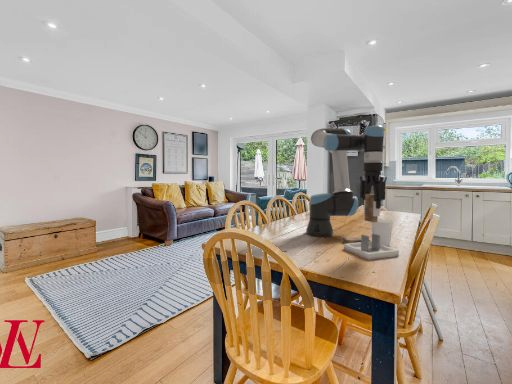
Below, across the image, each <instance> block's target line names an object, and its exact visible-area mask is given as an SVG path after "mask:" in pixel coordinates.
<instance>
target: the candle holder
mask: <svg viewBox="0 0 512 384" xmlns="http://www.w3.org/2000/svg"><path fill="white" fill-rule="evenodd" d="M393 222H394V220H392V219H389V218H378V220H377V222H371V223H370V224H371V235H372V234H377V235H380V244H381V245H384V246H387V247H390V246H391V240H392V234H393V233H392V232H393Z"/></svg>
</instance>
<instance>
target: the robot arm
mask: <svg viewBox="0 0 512 384" xmlns="http://www.w3.org/2000/svg"><path fill="white" fill-rule="evenodd" d="M310 136H311V137H310V140H311V143H312V145H313V146H315V147H318V148H322V149H323V148H324V150H325V151H328V152H329V153H331V157H332V170H333V172H332V173H333V184H334V191H333V192H332V193H329V192H328V193H326V192H325V193H316V194H313V195H311V196H310V197H309V198H310V199H309V220H308V225H307V227H306V234H307V235H308V236H312V237H319V238H320V237H322V238H323V237H331V236H333V235H334V230H333V229H334V228H333V226H332V223H331V222H332V221H331V217H348V216H349V217H351V216H354V215H355V214H357V213H356V212H357V210H358V208H359V199H358V197H357V196H356V195H354V192H353V190H351V185H350V176H349V175H350V173H349V172H350V171H349V163H348V152H349V151H350V152H353V151H354V152H364V153H363V155H364V156H363V161H364V163H363V171H364V175H362V176H360V177H359V180H360V187H359V188H360V189H359V198H360V199H362V200H363V201H362V202H363V204H362V205H363V215H365V194H371V190H372V189H373V194H374V196H375V200H374V207H373V216H378V217H380V213H381V211H380V210H381V208H382V207H381V206H382V205H381V204H382V201H384V200H386V182H387V178H388V177H387V176H384V175H382V171H383V160H384V140H385V139H384V138H385V137H384V136H385V134H384V127H383V126H382V125H370V126H367V127H365V129H364V132H363V134H352V133H351V131H350V130H349V129H348V128H342V127H339V128H326V127H325V128H319V129H317V130H314V132H313V133H312V134H311V135H310Z"/></svg>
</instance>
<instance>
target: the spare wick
mask: <svg viewBox="0 0 512 384" xmlns="http://www.w3.org/2000/svg"><path fill="white" fill-rule="evenodd" d="M369 241H371V240H370V239H369ZM342 242H343V244H348V243H358V242H361V237H342Z"/></svg>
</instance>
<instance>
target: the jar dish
mask: <svg viewBox="0 0 512 384" xmlns="http://www.w3.org/2000/svg"><path fill="white" fill-rule="evenodd" d="M360 236H361V237H360V238H361V242H358V243H348V244H345V243H343V250H344V251H347V252H350V253H352V254H353V255H356V256H358V257H361V258H363V259H365V260H367V261H371V260H379V259H388V258H394V257H399V256H400V255H399V254H400V253H399V252H400V250H398V249H396V248H394V247H393V248H392V247H390V246H384V245H381V244H380V235H377V234H372V233H371V240H370V235H366V234H361V235H360ZM369 240H370V241H369ZM387 257H388V258H387Z"/></svg>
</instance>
